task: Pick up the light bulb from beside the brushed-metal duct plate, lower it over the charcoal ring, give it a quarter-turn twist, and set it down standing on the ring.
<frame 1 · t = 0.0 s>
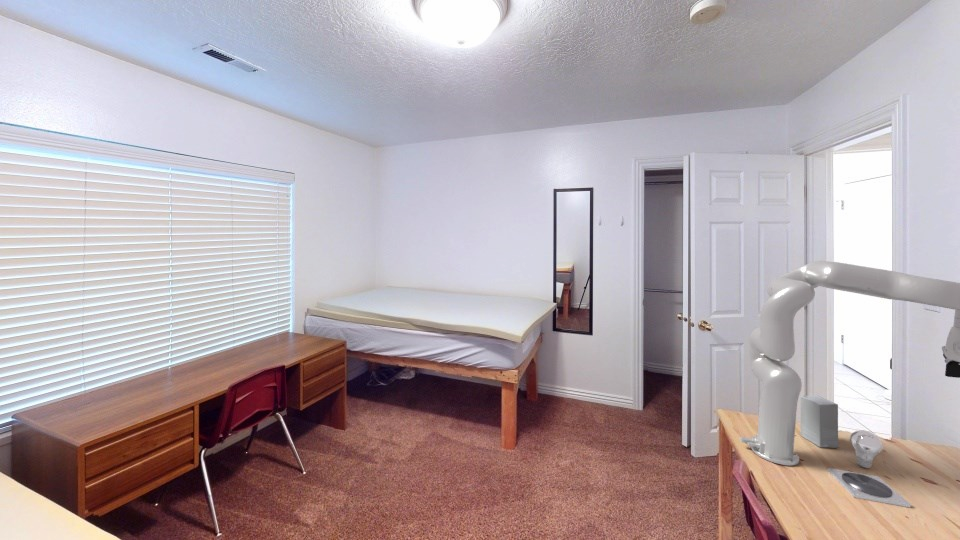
skincare box: (816, 442, 127), on the table
light bulb: (863, 467, 112), on the table
duct plate: (865, 487, 103), on the table
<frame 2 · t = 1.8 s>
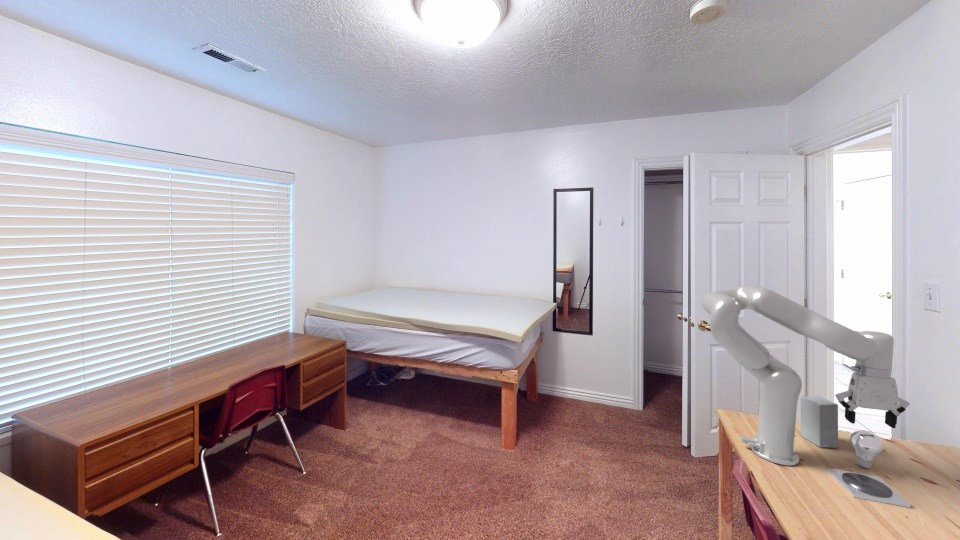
hand: (869, 423, 111), 15 cm above the table, fingers open, 9 cm apart
nothing on the table moved.
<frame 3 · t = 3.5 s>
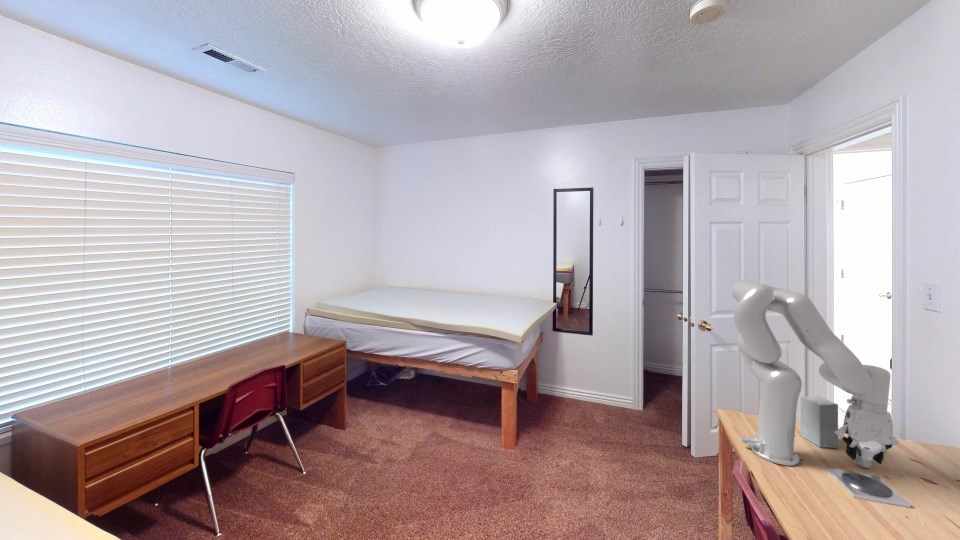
hand: (863, 458, 112), 3 cm above the table, fingers closed on light bulb, 5 cm apart
light bulb: (863, 467, 112), on the table, touching gripper
everything else where it was.
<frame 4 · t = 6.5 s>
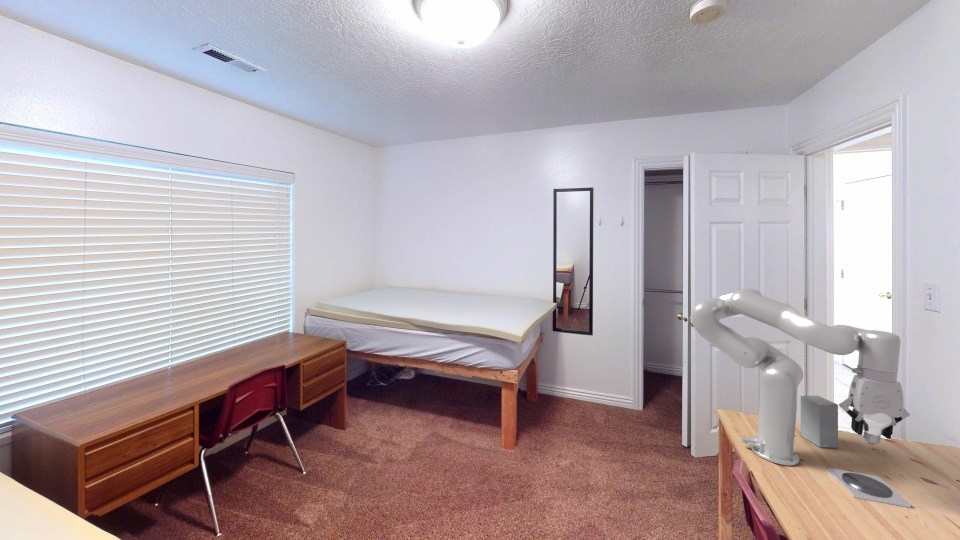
hand: (870, 433, 102), 17 cm above the table, fingers closed on light bulb, 5 cm apart
light bulb: (871, 444, 102), point 14 cm above the table, touching gripper
everything else where it was.
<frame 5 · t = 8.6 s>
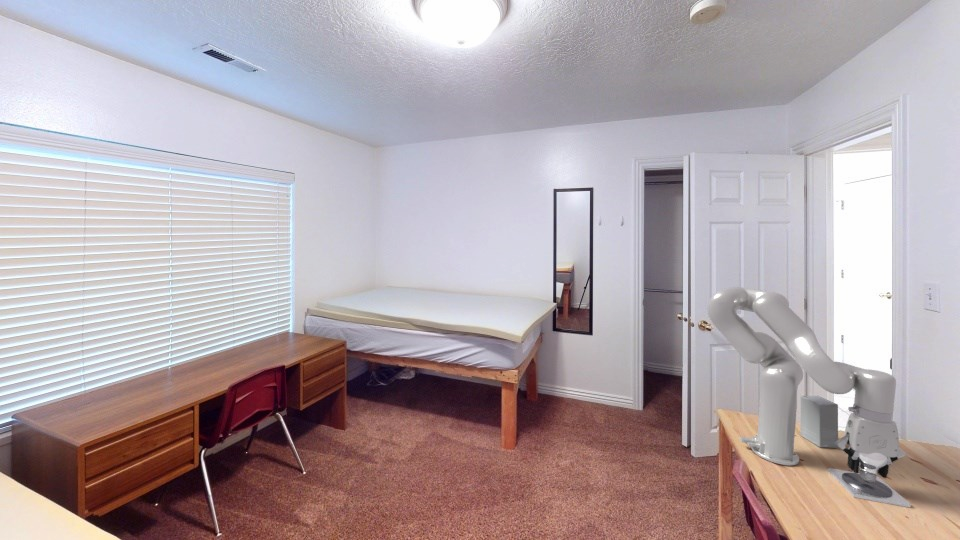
hand: (866, 472, 103), 5 cm above the table, fingers closed on light bulb, 5 cm apart
light bulb: (867, 482, 103), point 2 cm above the table, touching gripper
everything else where it was.
when the fingers open (5 cm above the table, at t = 10.1 s): light bulb stays where it is, resting on duct plate.
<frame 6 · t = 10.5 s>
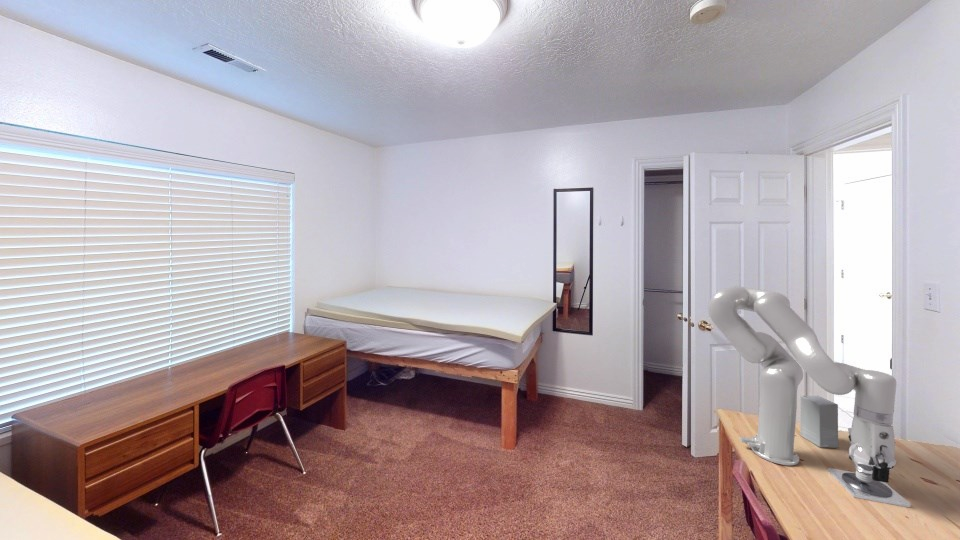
hand: (867, 470, 103), 5 cm above the table, fingers open, 9 cm apart
light bulb: (863, 482, 104), point 1 cm above the table, touching duct plate
everything else where it was.
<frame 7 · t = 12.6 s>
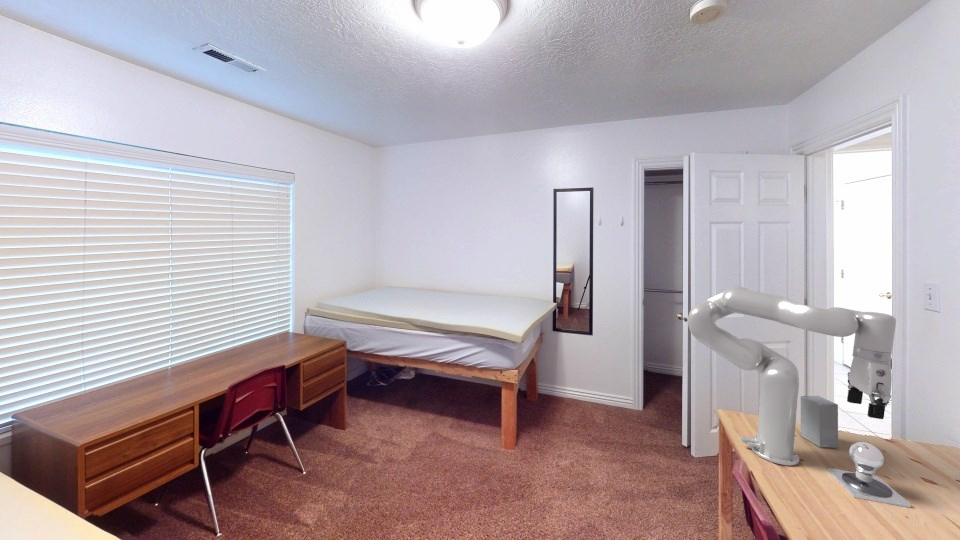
hand: (864, 410, 104), 22 cm above the table, fingers open, 9 cm apart
nothing on the table moved.
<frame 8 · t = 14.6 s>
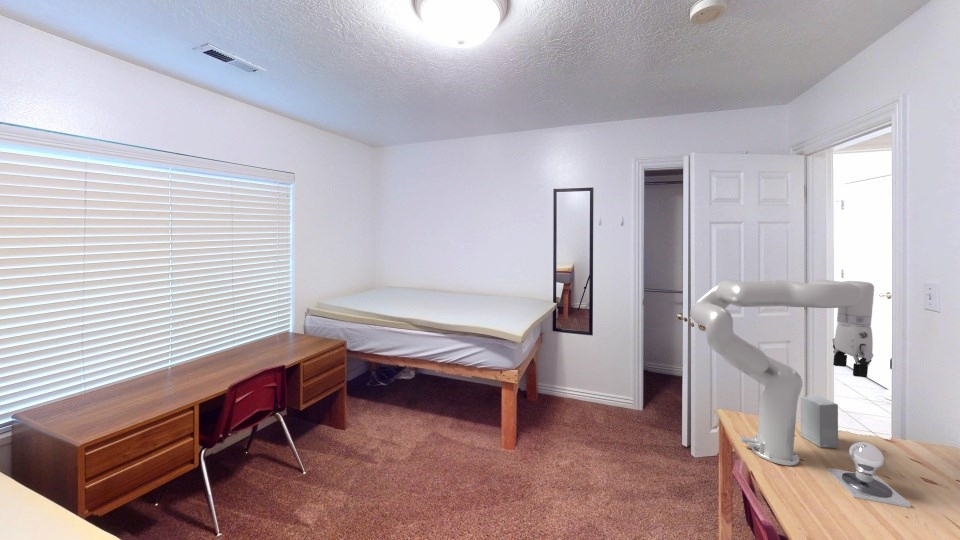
hand: (849, 371, 114), 30 cm above the table, fingers open, 9 cm apart
nothing on the table moved.
at the end: light bulb 0.7 cm off-centre on the duct plate, point 1.1 cm above the duct plate's base; light bulb tilted 0°; the gripper is holding nothing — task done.
